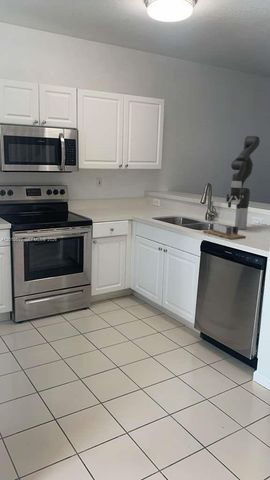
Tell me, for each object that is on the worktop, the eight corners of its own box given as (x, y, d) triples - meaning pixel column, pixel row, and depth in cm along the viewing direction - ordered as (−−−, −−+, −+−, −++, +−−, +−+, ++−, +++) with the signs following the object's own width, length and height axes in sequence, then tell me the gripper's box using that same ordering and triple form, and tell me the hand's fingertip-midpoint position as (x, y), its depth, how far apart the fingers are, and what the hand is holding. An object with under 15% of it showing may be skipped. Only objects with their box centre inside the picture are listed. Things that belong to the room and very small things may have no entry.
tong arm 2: (215, 229, 294) (216, 223, 293) (217, 229, 295) (217, 223, 294) (236, 233, 279) (236, 227, 278) (237, 233, 280) (238, 226, 279)
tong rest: (203, 232, 296) (203, 222, 294) (217, 231, 302) (217, 221, 301) (231, 239, 270) (231, 229, 269) (245, 238, 277) (246, 227, 276)
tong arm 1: (212, 230, 293) (213, 223, 292) (214, 230, 294) (215, 223, 293) (228, 234, 275) (229, 227, 274) (230, 234, 276) (231, 227, 275)
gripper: (246, 187, 295) (244, 209, 298) (231, 186, 306) (229, 207, 309) (241, 187, 291) (238, 209, 293) (225, 186, 301) (223, 207, 304)
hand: (234, 208), depth 301 cm, fingers open, 8 cm apart
